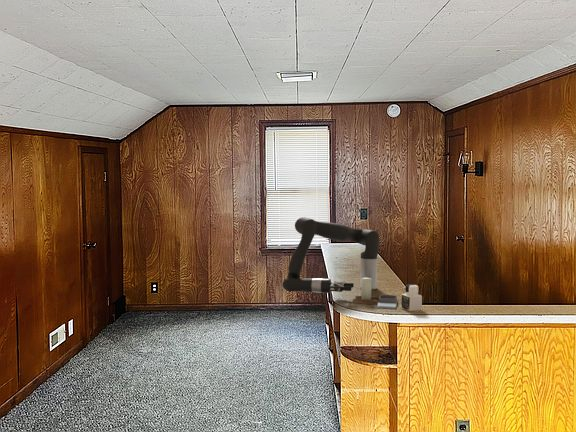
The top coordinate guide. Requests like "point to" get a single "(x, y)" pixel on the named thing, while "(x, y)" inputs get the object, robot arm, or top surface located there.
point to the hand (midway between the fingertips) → (352, 287)
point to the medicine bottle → (411, 298)
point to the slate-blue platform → (387, 305)
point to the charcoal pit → (388, 299)
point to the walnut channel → (372, 301)
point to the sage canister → (366, 289)
